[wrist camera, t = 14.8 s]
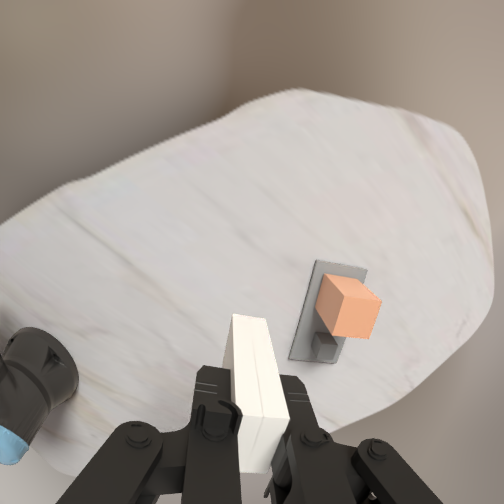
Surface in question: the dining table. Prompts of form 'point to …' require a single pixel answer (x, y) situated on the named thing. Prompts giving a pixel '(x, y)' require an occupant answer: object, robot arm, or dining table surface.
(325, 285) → the orange block
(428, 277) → the dining table surface
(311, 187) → the dining table surface
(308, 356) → the stand
